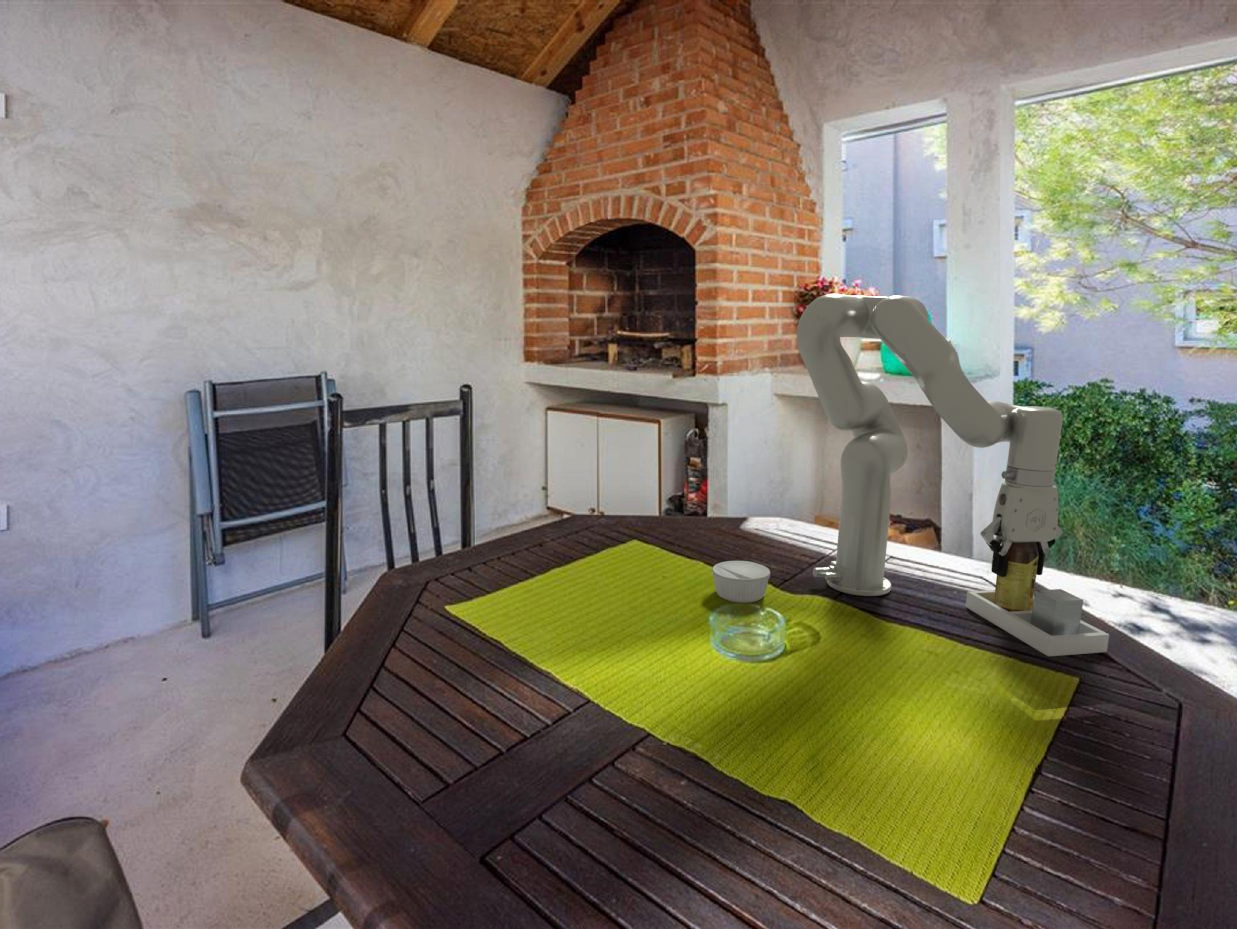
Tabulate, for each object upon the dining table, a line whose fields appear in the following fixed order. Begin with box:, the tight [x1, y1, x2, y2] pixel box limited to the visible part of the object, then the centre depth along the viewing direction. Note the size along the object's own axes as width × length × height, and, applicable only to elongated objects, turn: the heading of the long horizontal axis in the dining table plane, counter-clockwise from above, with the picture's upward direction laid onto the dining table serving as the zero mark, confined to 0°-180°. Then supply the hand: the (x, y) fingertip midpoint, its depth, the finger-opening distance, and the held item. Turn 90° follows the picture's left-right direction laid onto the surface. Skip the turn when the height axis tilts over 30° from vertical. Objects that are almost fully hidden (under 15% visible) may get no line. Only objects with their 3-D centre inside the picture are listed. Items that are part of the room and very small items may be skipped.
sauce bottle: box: [994, 540, 1039, 612], centre depth 134 cm, size 7×6×20 cm
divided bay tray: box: [965, 589, 1110, 657], centre depth 131 cm, size 21×11×4 cm, turn 11°
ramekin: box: [711, 560, 771, 604], centre depth 147 cm, size 11×11×5 cm
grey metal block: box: [1030, 588, 1084, 636], centre depth 126 cm, size 5×5×8 cm
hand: (1016, 572), depth 135 cm, fingers open, 6 cm apart
